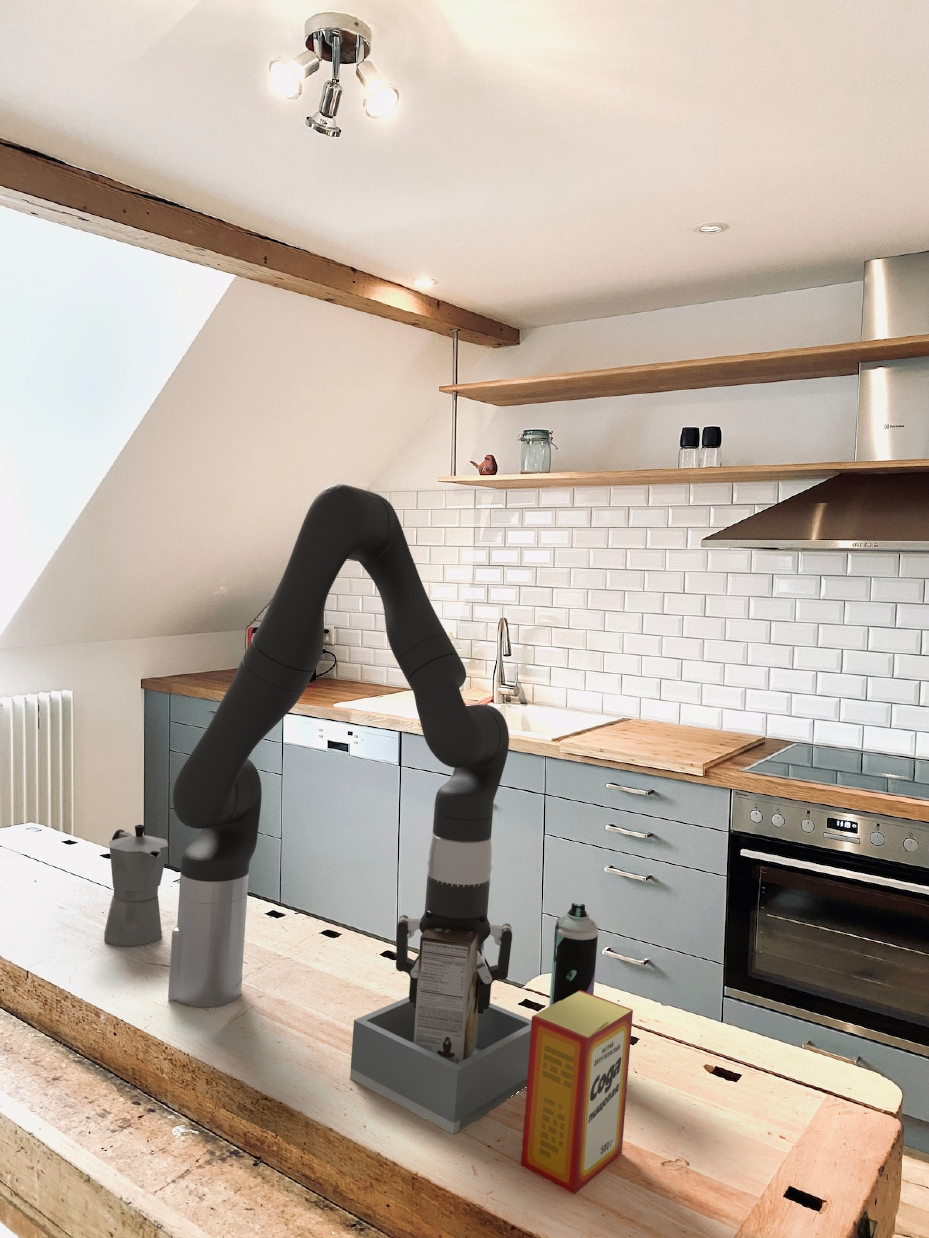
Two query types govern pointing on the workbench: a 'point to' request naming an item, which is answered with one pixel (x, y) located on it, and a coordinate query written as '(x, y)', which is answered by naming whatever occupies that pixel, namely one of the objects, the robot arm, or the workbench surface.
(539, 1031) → the baking soda box
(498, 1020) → the tote
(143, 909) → the coffeepot
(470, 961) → the coffee box
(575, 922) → the spray can
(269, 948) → the workbench surface
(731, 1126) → the workbench surface
